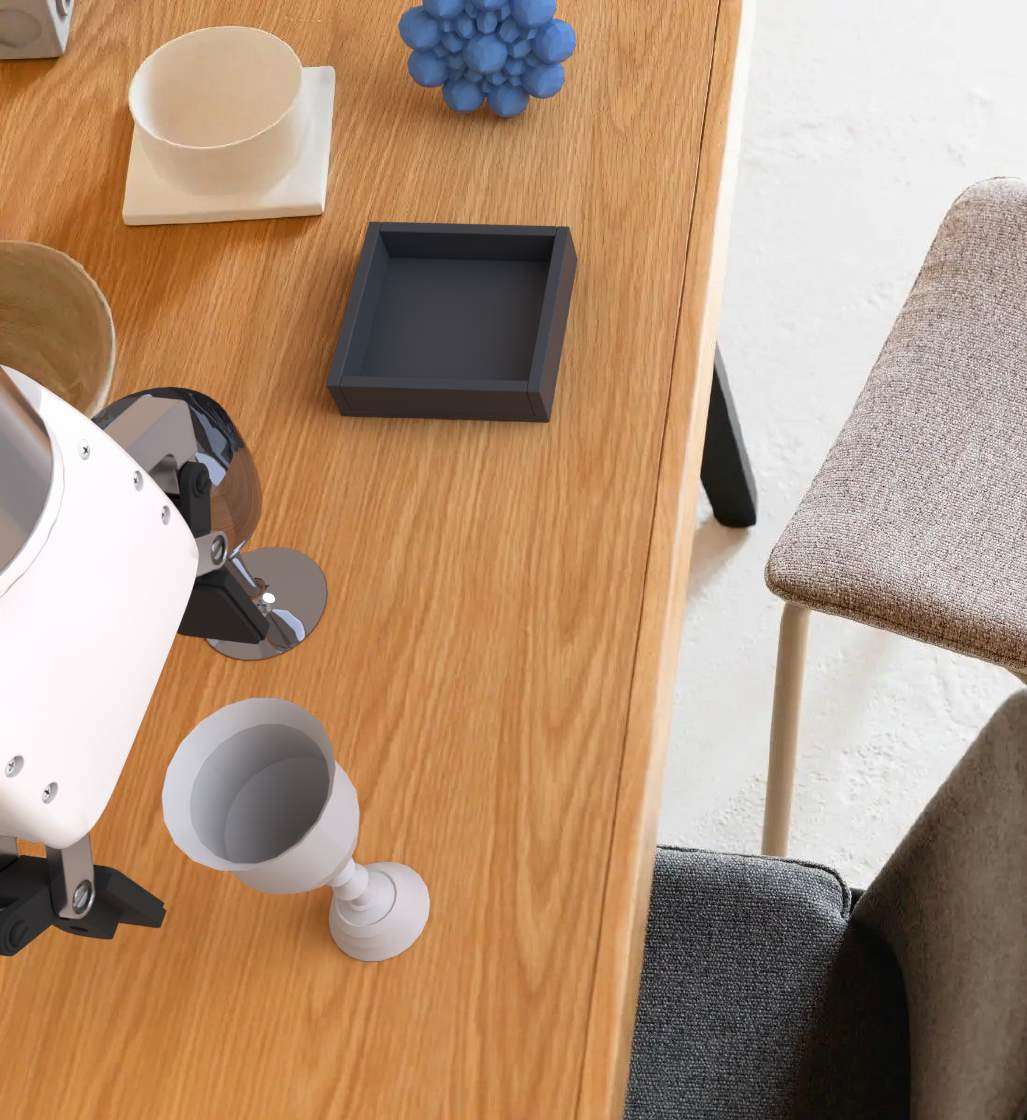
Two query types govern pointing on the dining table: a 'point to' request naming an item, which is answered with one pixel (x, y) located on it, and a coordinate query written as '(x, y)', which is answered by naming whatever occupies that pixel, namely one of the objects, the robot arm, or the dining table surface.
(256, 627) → the robot arm
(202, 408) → the wine glass
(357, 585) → the dining table surface
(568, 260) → the tray
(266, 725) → the chalice
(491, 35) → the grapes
